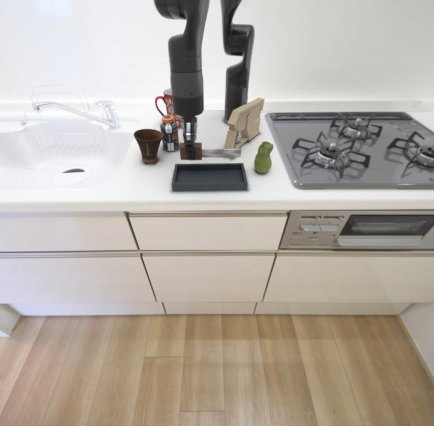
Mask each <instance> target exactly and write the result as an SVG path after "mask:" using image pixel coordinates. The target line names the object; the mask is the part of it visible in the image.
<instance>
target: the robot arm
mask: <svg viewBox="0 0 434 426" xmlns="http://www.w3.org/2000/svg"><path fill="white" fill-rule="evenodd" d="M242 2H243V0H219V3H220V12H221V13H220V14H221V34H222V35H221V36H222V37H221V38H222V48H223V49H222V50H223V53H224V54H225V55H226V56H230V57H242V59H241V61H239V62H237V63H235V64H233V65H230V66H228V67H226V70H225V88H224V110H223V111H224V112H223V122H224V123H226V124H227V123H228V121H229V118H230V116H231V114H232V111H233V110H235V109H237V108H239V107H240V106H242V105H244V104H245V105H246V104H247V103H248V100H249V96H248V95H249V87H250V77H251V67H252V57H253V52H254V51H253V50H254V44H255V37H256V36H255V35H256V32H255V27H254V25H253V24H249V23H247V24H244V23H234V22H233V20H234V17H235V15H236V12H237V10H238V9H239V7H240V5H241V3H242ZM210 3H211V0H153V4H154V8H155V9H156V11H157V13H158V14H159V16H161V17H162V18H164V19H166V20H174V21H175V20H177V21H179V20H180V21H186V22H185V26H184V30H183V33H179V34H175V35H171V37H169V39H168V41H167V54H168V62H169V63H168V64H169V72H170V73H169V74H170V75H169V83H170V88H171V93H172V102H173V111H174V113H175V114H176V115H178V116H182V121H181V130H182V140H183V143H184V144H185V150H187V159H188V160H187V161H196V160H195V147H196V145H195V143H196V141H197V136H198V135H197V133H198V117H197V116H200V115H202V114H203V113H204V112H205V111H204V110H205V95H204V94H205V93H204V91H205V90H204V89H205V88H204V76H203V55H202V53H203V52H202V48H203V40H204V33H205V28H206V23H207V18H208V13H209V9H210Z"/></svg>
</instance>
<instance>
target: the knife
mask: <svg viewBox="0 0 434 426" xmlns="http://www.w3.org/2000/svg"><path fill="white" fill-rule="evenodd" d="M195 145H196V147H195V160H194V161H202V160H203V159H206V158H209V159H210V158H217V159H219V158H228V157H233V158H241V157H242V148H239V149H224V148H203V143H202V142H201V141H200V142H195ZM178 149H179V158H180V161H189V160H188V159H187V150H185V144H184V142H179V148H178Z"/></svg>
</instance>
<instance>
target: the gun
mask: <svg viewBox="0 0 434 426" xmlns="http://www.w3.org/2000/svg"><path fill="white" fill-rule="evenodd" d="M264 104H265V98H262V97H257V98H255V99H253V100H251V101H249V102H247V104H246V105H245V104H244V105H242V106H240V107H239V108H237V109H235V110H233V111H232V114H231V116H230V118H229V121H228V123H226V125H227V126H228V130H227V133H226V137H225V142H224V148H223V149H240V147H242V145H244V144H245V143H246V142H250V141H251V140H253V139H254V137H256V136H257V135H258V134H259V133H260V124H261V113H262V111H263V110H264ZM239 133H240V136H241V138H240V139H239V140H238V137H239ZM227 158H228V159H233V158H234V157H227Z"/></svg>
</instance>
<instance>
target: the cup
mask: <svg viewBox="0 0 434 426" xmlns="http://www.w3.org/2000/svg"><path fill="white" fill-rule="evenodd" d="M133 137H134V139H135V141H136V143H137V145H138V148H139V151H140V155H141V161H142V162H143V163H145V164H155V163H157V161H158V154H159V149H160V146H161V143H162V138H163V134H162V133H161V130H160V131H159V130H158V129H153V128H141V129H137V130H135V131H134V133H133Z"/></svg>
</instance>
